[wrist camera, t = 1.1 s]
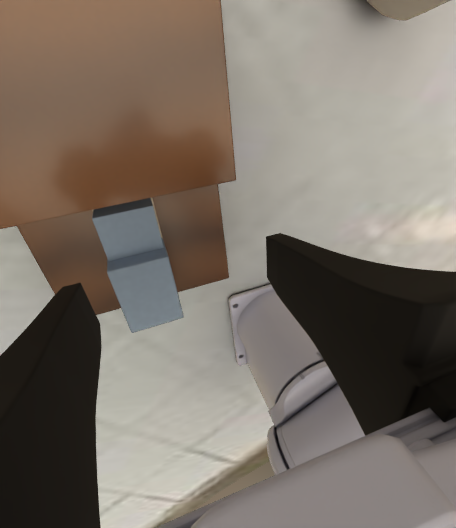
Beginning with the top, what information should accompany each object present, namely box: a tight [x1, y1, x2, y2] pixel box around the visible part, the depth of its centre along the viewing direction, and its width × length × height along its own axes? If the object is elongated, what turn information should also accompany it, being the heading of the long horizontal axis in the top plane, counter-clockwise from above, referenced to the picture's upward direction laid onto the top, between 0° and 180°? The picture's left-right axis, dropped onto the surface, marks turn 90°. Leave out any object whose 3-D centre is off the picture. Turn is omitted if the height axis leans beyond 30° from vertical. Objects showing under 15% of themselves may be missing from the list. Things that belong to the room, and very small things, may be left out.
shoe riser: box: [0, 0, 236, 315], centre depth 16 cm, size 18×12×6 cm, turn 6°
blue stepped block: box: [92, 198, 183, 333], centre depth 18 cm, size 8×3×4 cm, turn 6°
